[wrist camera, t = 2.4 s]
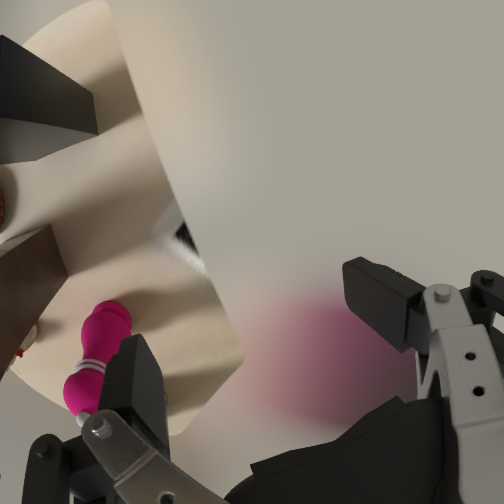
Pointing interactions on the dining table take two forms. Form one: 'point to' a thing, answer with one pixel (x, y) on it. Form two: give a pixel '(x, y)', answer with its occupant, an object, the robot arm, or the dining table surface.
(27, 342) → the chocolate bunny
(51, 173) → the dining table surface
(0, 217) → the bread roll
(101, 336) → the pepper mill
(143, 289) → the dining table surface
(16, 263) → the plinth
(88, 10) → the dining table surface
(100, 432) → the robot arm
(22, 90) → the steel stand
